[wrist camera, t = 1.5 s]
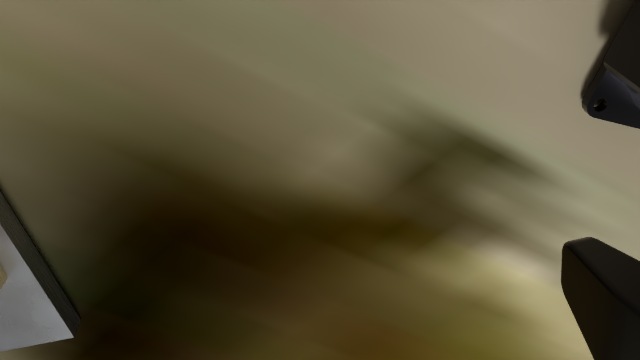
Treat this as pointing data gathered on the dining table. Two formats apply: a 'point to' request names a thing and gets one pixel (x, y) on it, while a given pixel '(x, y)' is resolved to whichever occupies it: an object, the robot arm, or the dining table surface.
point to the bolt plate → (29, 291)
